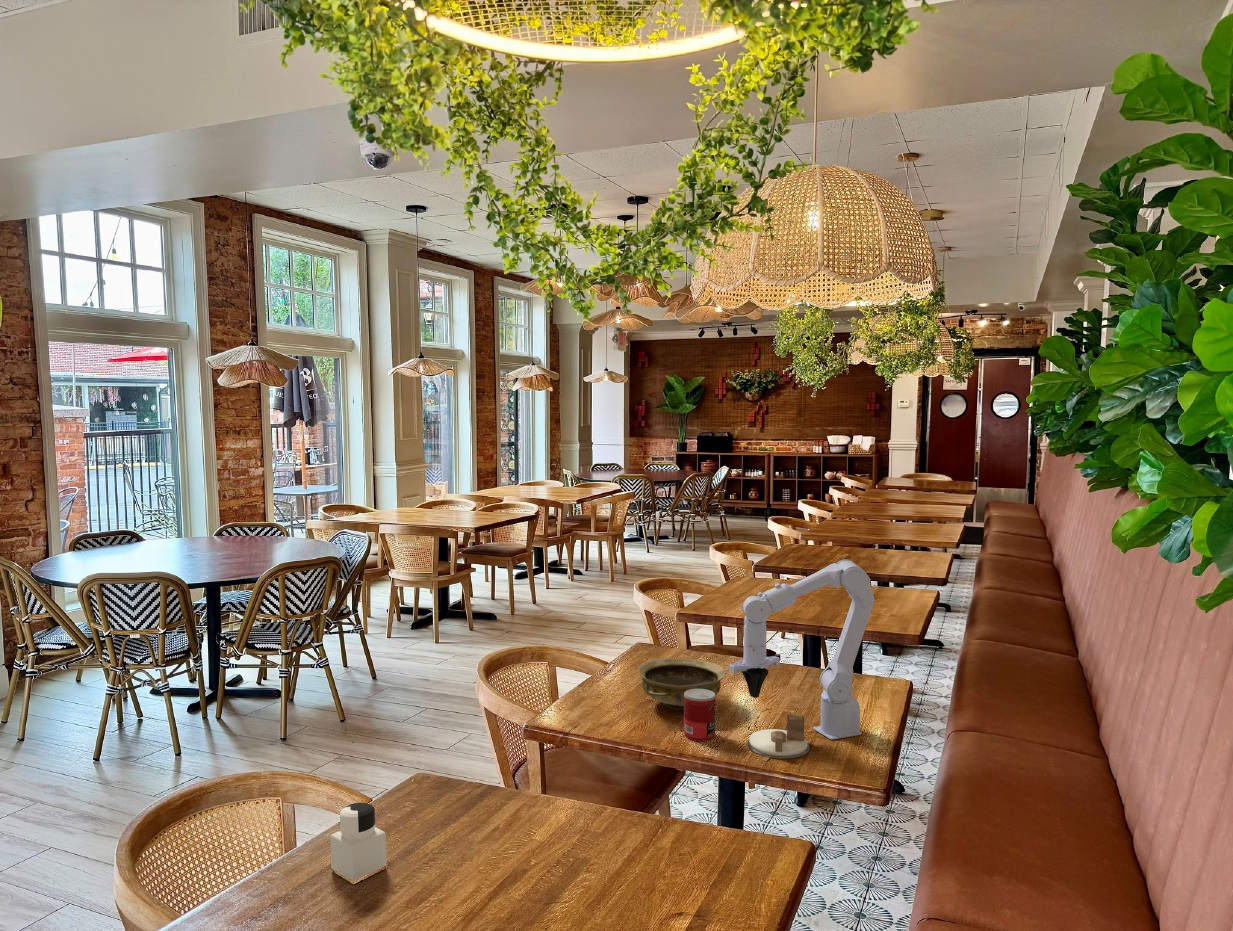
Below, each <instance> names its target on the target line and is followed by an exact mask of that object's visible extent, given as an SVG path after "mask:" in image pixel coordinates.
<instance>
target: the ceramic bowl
mask: <svg viewBox="0 0 1233 931" xmlns="http://www.w3.org/2000/svg"><path fill="white" fill-rule="evenodd" d="M637 669H638V670H637V672H638V674H639V676H640V677H641V686H642V687H641V688H642V689H643V690H644V692H645V694H647V696H649V697H650V698H652V699H653V700H655V701H658V702H660V703H662V704H665V706H666V707H667V708H669V709H671V710H675V711H684V693H685V691H687V690H690V689H707V690H710V691H713V692H714V693H715V696H716V697H717V695H718V694H719V692H720V691H721V686H722V685H721V684H722V683H721V680H723V679H724V677H726V676H725V675H726V671H725V670H724V669H723V667H721V665H718V664H716V663H715V662H710V661H706V660H701V659H695V658H684V657H667V658H659V659H654V660H650V661H646V662H644V663H642V664H640V666H639V667H638V668H637Z"/></svg>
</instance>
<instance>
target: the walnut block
mask: <svg viewBox="0 0 1233 931" xmlns="http://www.w3.org/2000/svg"><path fill="white" fill-rule="evenodd" d="M786 730H787V740H798V741H804V738H805V717H804V714H796V713H795V714H793V713H787V714H786Z"/></svg>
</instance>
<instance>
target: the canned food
mask: <svg viewBox="0 0 1233 931" xmlns="http://www.w3.org/2000/svg"><path fill="white" fill-rule="evenodd" d="M716 697H717V695H716V696H715V693H714V692H713V691H710V690H707V689H690V690H687V691H685V693H684V710H683V734H684V737H685V738H687V739H688V740H690V739H691V741H694V740H696V741H695V742H707V741H711V740H714V739H715V736H716V711H717V710H716V709H717V708H716V706H717V702H716V701H717V698H716Z"/></svg>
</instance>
